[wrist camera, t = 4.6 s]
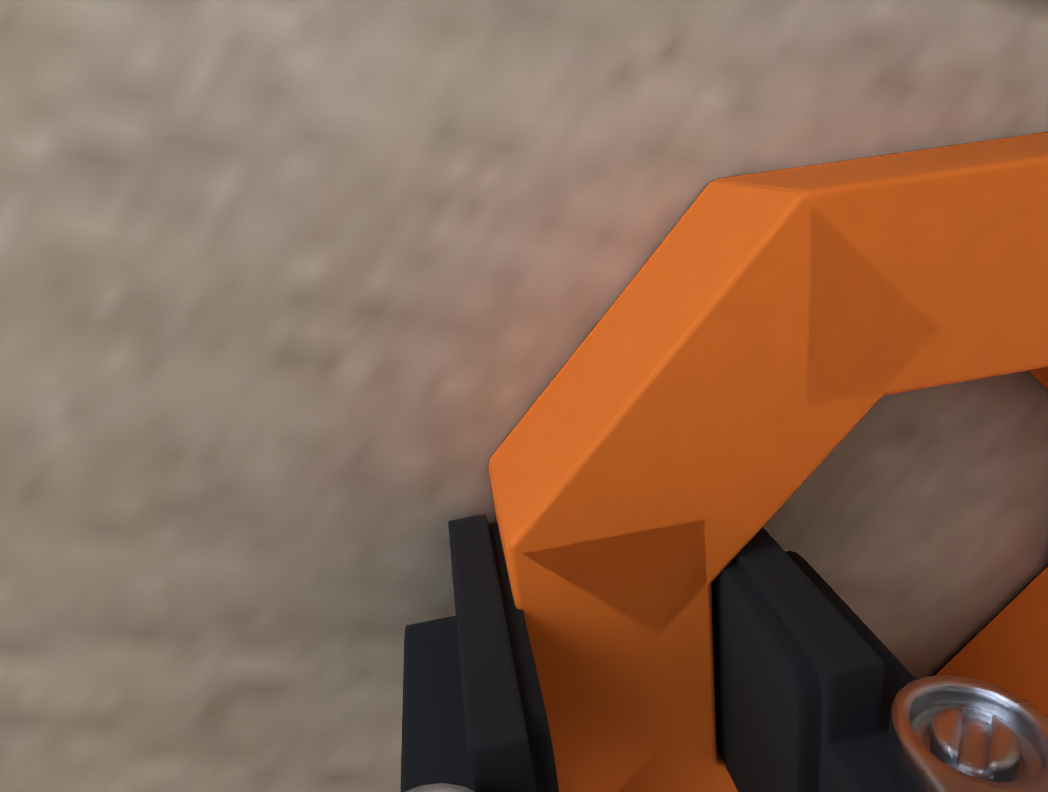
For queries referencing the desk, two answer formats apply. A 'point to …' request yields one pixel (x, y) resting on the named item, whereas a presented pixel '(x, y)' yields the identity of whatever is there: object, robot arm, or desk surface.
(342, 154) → the desk surface
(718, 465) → the orange ring
